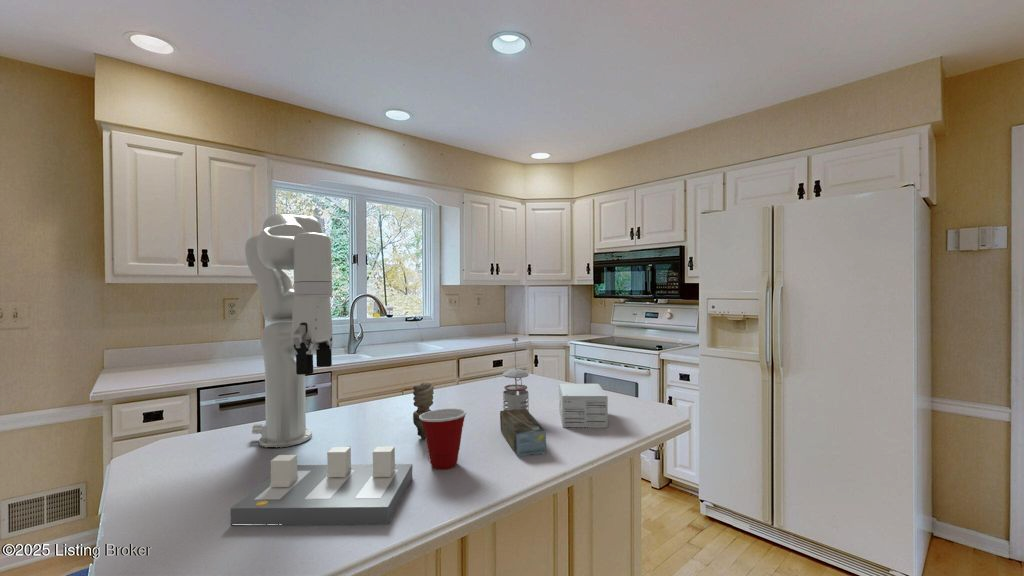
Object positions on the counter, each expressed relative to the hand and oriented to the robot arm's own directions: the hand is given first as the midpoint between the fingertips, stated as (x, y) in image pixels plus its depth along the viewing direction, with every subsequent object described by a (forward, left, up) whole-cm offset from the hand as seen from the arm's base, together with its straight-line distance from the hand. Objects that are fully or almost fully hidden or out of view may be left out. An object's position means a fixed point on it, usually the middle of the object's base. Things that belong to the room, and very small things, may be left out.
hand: (315, 370), depth 93 cm
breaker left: (-2, -10, -20) cm, 22 cm away
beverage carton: (+45, +20, -24) cm, 54 cm away
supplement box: (+63, +39, -23) cm, 78 cm away
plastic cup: (+26, +6, -23) cm, 36 cm away
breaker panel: (+7, -10, -23) cm, 26 cm away
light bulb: (+18, +23, -23) cm, 38 cm away
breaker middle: (+7, -6, -20) cm, 22 cm away
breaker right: (+16, -6, -20) cm, 26 cm away
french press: (+43, +41, -23) cm, 64 cm away
